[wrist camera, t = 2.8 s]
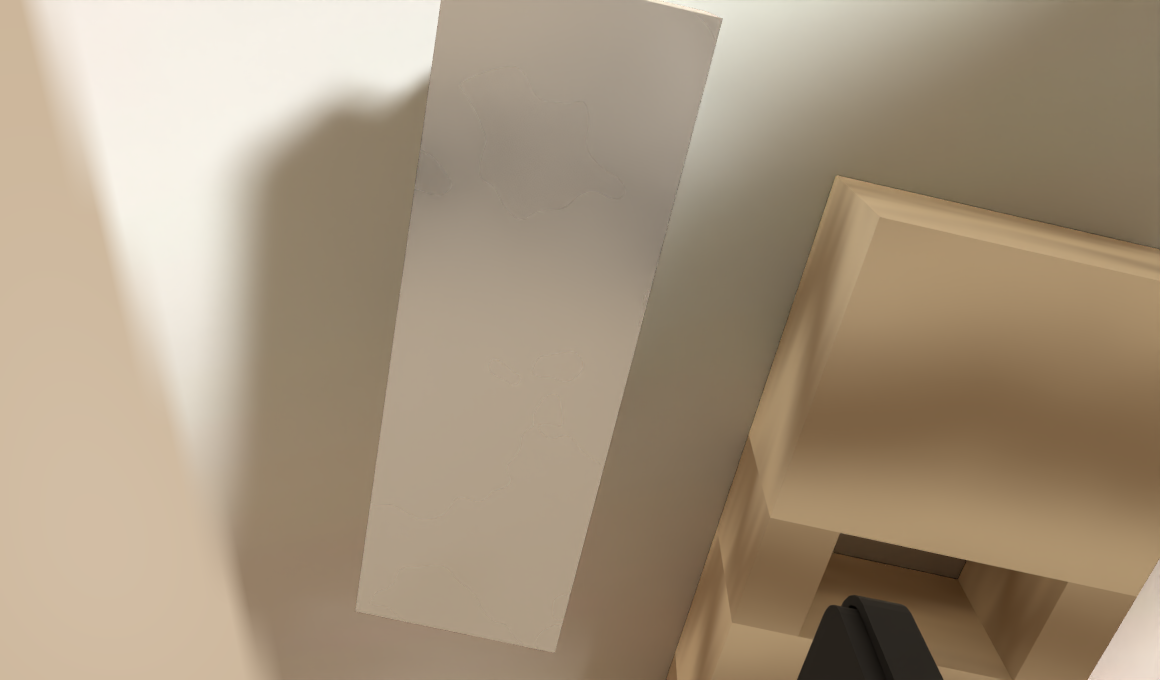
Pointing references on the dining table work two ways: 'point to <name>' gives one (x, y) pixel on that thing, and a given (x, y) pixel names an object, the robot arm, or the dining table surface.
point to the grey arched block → (523, 300)
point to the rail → (946, 445)
